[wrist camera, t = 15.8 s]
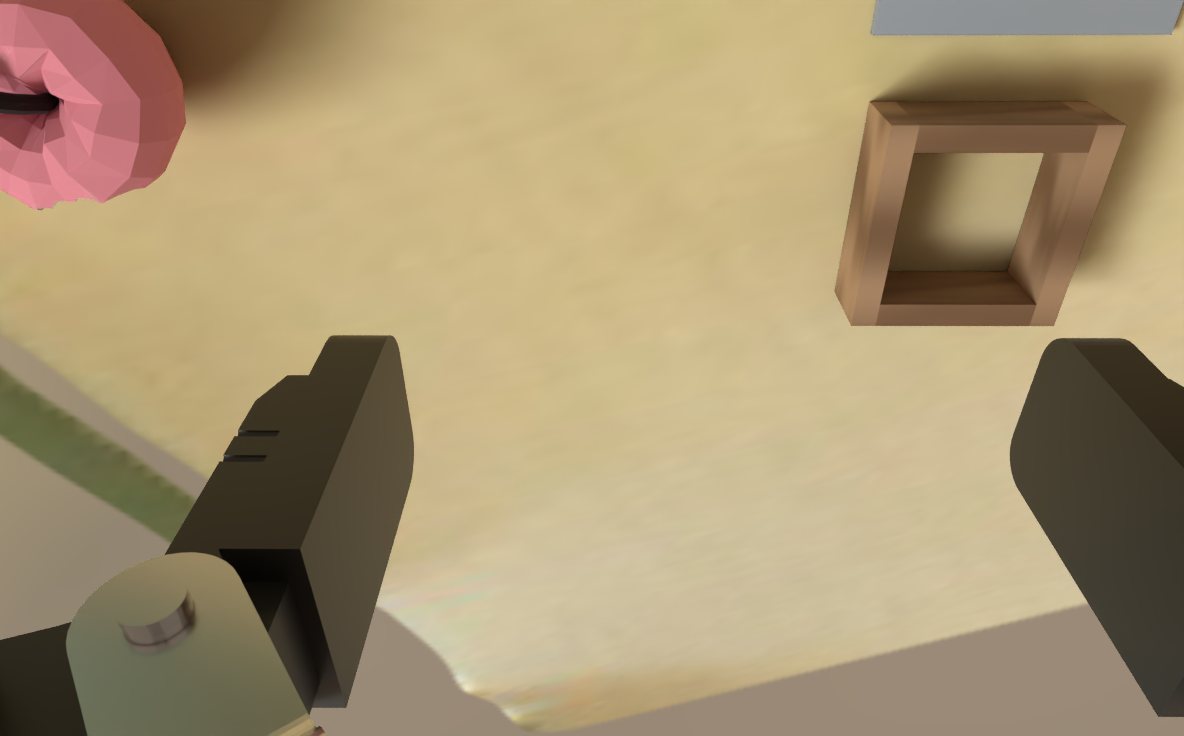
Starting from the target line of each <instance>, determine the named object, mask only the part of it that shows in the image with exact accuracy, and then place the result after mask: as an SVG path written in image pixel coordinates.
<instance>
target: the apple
mask: <svg viewBox="0 0 1184 736" xmlns="http://www.w3.org/2000/svg"><path fill="white" fill-rule="evenodd" d="M185 124H186V118H185V106H184V94H183V83H182V80H181V78H180V76H179V74H178V72H177V70H176V68H175V66H174V64H173V62H172V60H171V58H170V56H169V54H168V51H167V49H166V47H165V45H164V43H163V41H162V39H161V37H160V36H159V35H158V34H157V33H156V32H155V31H154V30H153V29H152V28H151V27H150V26H149V25H148V24H146V23H145V22H144V21H143V20H142V19H141V18H140V17H139V16H138V15H137V14H136V13H135V12H134V11H133V10H132V9H131V8H130V7H129V6H128V5H127V4H126V3H125V2H123V1H122V0H0V190H2V191H4V192H5V193H7V194H9V195H11V196H12V197H14V198H16V199H17V200H19V201H21V202H23V203H24V204H26V205H28V206H29V207H31V208H33V209H35V210H36V209H37V210H43V209H44V208H53V207H54V205H55V204H56V203H57V202H58V201H68V202H73V203H75V201H76V200H77V199H78V198H86V199H92V200H95V201H97V202H99V203H103V202H105V201H107V200H109V199H111V198H114V197H116V196H118V195H120V194H123V193H126V192H128V191H131V190H134V189H139V188H145V187H147V186H148V185H149V184H151V183H152V182H153V181H155V180H156V179H158V178H159V177H160V176H161V175H162V174H163V173H164V172H165V170H166V168H167V166H168V163H169V161H170V159H171V156H172V154H173V152H174V149H175V147H176V145H177V143H178V140H179V138H180V136H181V133H182V131H183V129H184V126H185Z"/></svg>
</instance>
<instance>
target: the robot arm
mask: <svg viewBox="0 0 1184 736" xmlns="http://www.w3.org/2000/svg"><path fill="white" fill-rule="evenodd" d="M223 456H224V460H223V462H219V464H218V465H217V467H216V469H215V470H214V472H213V474H212V475H211V477H210V479H209V480H208V482H207V484H206V486H205V487H204V489H203V491H202V492H201V494H200V496H199V497H198V499H197V501H196V502H195V504H194V506H193V508H192V509H191V511H190V513H189V514H188V516H187V518H186V519H185V521H184V523H183V524H182V526H181V528H180V530H179V531H178V533H177V535H176V536H175V538H174V540H173V541H172V543H171V545H170V546H169V548H168V550H167V552H166V553H165V555H164V556H160V557H156V558H152V559H150V560H147V561H144V562H141V563H139V564H136V565H134V566H132V567H130V568H128V569H126V570H124V571H122V572H121V573H119V574H118V575H116V576H114V577H113V578H111V579H110V580H108V581H107V582H106V583H104V584H103V585H102V586H100V587H99V588H98V589H97V590H96V591H95V592H94V593H93V594H92V595H91V596H90V597H88V599H87V600H86V601H85V603H84V604H83V605H82V606H81V607H80V608H79V610H78V611H77V613H76V615H75V616H74V618H73V620H72V622H70V623H66V624H63V625H60V626H56V627H52V628H48V629H44V630H40V631H36V632H32V633H27V634H24V635H19V636H16V637H11V638H7V639H3V640H0V736H327V735H326V733H325V732H324V731H323V729H322V728H321V727H320V726H319V727H317V728H316V727H315V725H314V724H313V722H312V720H311V718H310V716H309V715H310V711H311V709H312V708H314V707H315V708H316V707H317V708H319V707H321V708H346V706H347V703H348V699H349V696H350V693H351V689H352V686H353V682H354V679H355V675H356V672H357V668H358V665H359V661H360V658H361V654H362V651H363V647H364V644H365V640H366V637H367V633H368V630H369V626H370V623H371V619H372V615H373V612H374V609H375V605H376V602H377V598H378V595H379V591H380V588H381V584H382V581H383V577H384V574H385V570H386V567H387V563H388V560H389V556H390V553H391V549H392V546H393V542H394V539H395V535H396V532H397V528H398V525H399V521H400V518H401V515H402V511H403V508H404V504H405V501H406V497H407V494H408V490H409V487H410V483H411V478H412V472H413V461H414V442H413V432H412V426H411V420H410V413H409V407H408V401H407V395H406V389H405V382H404V376H403V370H402V364H401V358H400V352H399V348H398V344H397V342H396V339H395V338H394V337H393V336H370V335H333V336H331V337H330V338H328V340H327V342H326V343H325V345H324V347H323V349H322V351H321V353H320V355H319V357H318V359H317V361H316V363H315V364H314V366H313V368H312V370H311V372H310V374H309V375H287V376H286V377H285V378H284V379H282V380H281V381H280V382H279V383H277V384H276V385H275V386H274V387H272V388H271V389H270V390H269V391H267V392H266V393H265V394H263V395H262V396H261V397H260V398H258V399H257V400H256V401H255V403H254V404H253V406H252V408H251V409H250V411H249V413H248V414H247V416H246V418H245V419H244V421H243V423H242V425H241V426H240V428H239V430H238V436H234V438H233V440H232V441H231V443H230V445H229V447H228V448H227V450H226V452H225V453H224V455H223ZM1010 465H1011V471H1012V475H1013V479H1014V481H1015V484H1016V486H1017V488H1018V490H1019V491H1020V493H1021V495H1022V496H1023V498H1024V499H1025V501H1026V503H1027V504H1028V506H1029V508H1030V509H1031V511H1032V512H1033V514H1034V516H1035V517H1036V519H1037V521H1038V522H1039V524H1040V525H1041V527H1042V529H1043V530H1044V532H1045V534H1046V535H1047V537H1048V538H1049V540H1050V542H1051V543H1052V545H1053V546H1054V548H1055V550H1056V551H1057V553H1058V555H1059V556H1060V558H1061V559H1062V561H1063V563H1064V564H1065V566H1066V568H1067V569H1068V571H1069V572H1070V574H1071V576H1072V577H1073V579H1074V581H1075V582H1076V584H1077V585H1078V587H1079V589H1080V590H1081V592H1082V594H1083V595H1084V597H1085V598H1086V600H1087V602H1088V603H1089V605H1090V607H1091V608H1092V610H1093V611H1094V613H1095V615H1096V616H1097V618H1098V620H1099V621H1100V623H1101V624H1102V626H1103V628H1104V629H1105V631H1106V632H1107V634H1108V636H1109V637H1110V639H1111V641H1112V642H1113V644H1114V646H1115V647H1116V649H1117V650H1118V652H1119V654H1120V655H1121V657H1122V659H1123V660H1124V662H1125V663H1126V665H1127V667H1128V668H1129V670H1130V672H1131V673H1132V674H1133V676H1134V678H1135V680H1136V681H1137V683H1138V684H1139V686H1140V688H1141V689H1142V691H1143V693H1144V694H1145V696H1146V698H1147V699H1148V701H1149V702H1150V704H1151V705H1152V707H1153V709H1154V710H1155V712H1156V714H1157V715H1158V717H1184V387H1182V386H1181V385H1179V384H1177V383H1176V382H1174V381H1172V380H1171V379H1168V378H1167V377H1166V376H1165V375H1164V374H1163V373H1162V372H1161V371H1160V370H1159V369H1158V368H1157V367H1156V366H1155V365H1154V364H1153V363H1152V362H1151V361H1150V360H1149V359H1148V358H1147V357H1146V356H1145V355H1144V354H1143V353H1142V352H1141V351H1140V350H1139V349H1138V348H1137V347H1136V346H1135V345H1134V344H1132V343H1131V342H1130V341H1128V340H1126V339H1121V338H1060V339H1056V340H1054V341H1052V342H1051V343H1050V344H1049V345H1048V346H1047V347H1046V349H1045V350H1044V352H1043V355H1042V357H1041V359H1040V362H1039V365H1038V368H1037V370H1036V373H1035V376H1034V379H1033V382H1032V384H1031V387H1030V390H1029V393H1028V395H1027V398H1026V401H1025V404H1024V406H1023V409H1022V412H1021V415H1020V417H1019V420H1018V423H1017V426H1016V428H1015V431H1014V434H1013V437H1012V441H1011V447H1010Z"/></svg>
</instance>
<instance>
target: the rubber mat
mask: <svg viewBox="0 0 1184 736" xmlns="http://www.w3.org/2000/svg"><path fill="white" fill-rule="evenodd" d="M1183 2H1184V0H876V6H875V12H874V17H873V23H872V29H871V34H872V35H1172V32H1173V29H1174V26H1175V24H1176V21H1177V18H1178V16H1179V13H1180V10H1181V8H1182V5H1183Z"/></svg>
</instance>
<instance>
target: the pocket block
mask: <svg viewBox="0 0 1184 736" xmlns="http://www.w3.org/2000/svg"><path fill="white" fill-rule="evenodd" d="M1126 126H1127V125H1125V124H1124V123H1122V122H1120V121H1119V120H1117V119H1115V118H1114V117H1112V116H1110V115H1109V114H1107V113H1105V112H1104V111H1102V110H1100V109H1098V108H1097V107H1095V106H1093V105H1092V104H1090V103H1088V102H1087V101H1026V102H869V107H868V112H867V118H866V123H865V129H864V134H863V140H862V145H861V151H860V156H859V162H858V167H857V172H856V178H855V183H854V189H853V194H852V200H851V205H850V211H849V216H848V222H847V227H846V232H845V238H844V243H843V249H842V254H841V260H840V265H839V271H838V276H837V282H836V287H835V293H836V295H837V297H838V300H839V302H840V304H841V306H842V308H843V310H844V312H845V314H846V316H847V318H848V320H849V322H850V324H851V326H1054V324H1055V321H1056V319H1057V316H1058V313H1059V310H1060V308H1061V305H1062V302H1063V299H1064V297H1065V294H1066V291H1067V288H1068V286H1069V283H1070V280H1071V277H1072V275H1073V272H1074V269H1075V266H1076V264H1077V261H1078V258H1079V255H1080V252H1081V250H1082V247H1083V244H1084V241H1085V239H1086V236H1087V233H1088V230H1089V228H1090V225H1091V222H1092V219H1093V217H1094V214H1095V211H1096V208H1097V206H1098V203H1099V200H1100V197H1101V195H1102V192H1103V189H1104V186H1105V184H1106V181H1107V178H1108V175H1109V173H1110V170H1111V167H1112V164H1113V162H1114V159H1115V156H1116V153H1117V151H1118V148H1119V145H1120V142H1121V140H1122V137H1123V134H1124V131H1125V129H1126ZM913 153H1044V156H1043V159H1042V162H1041V165H1040V169H1039V172H1038V175H1037V178H1036V181H1035V185H1034V188H1033V191H1032V194H1031V197H1030V201H1029V204H1028V207H1027V210H1026V213H1025V217H1024V220H1023V223H1022V226H1021V229H1020V233H1019V236H1018V239H1017V242H1016V245H1015V249H1014V252H1013V255H1012V258H1011V261H1010V265H1009V268H1008V271H1007V272H887V271H888V267H889V262H890V258H891V253H892V249H893V244H894V240H895V235H896V230H897V226H898V221H899V217H900V212H901V208H902V203H903V199H904V194H905V190H906V185H907V181H908V176H909V172H910V167H911V163H912V158H913Z"/></svg>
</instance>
